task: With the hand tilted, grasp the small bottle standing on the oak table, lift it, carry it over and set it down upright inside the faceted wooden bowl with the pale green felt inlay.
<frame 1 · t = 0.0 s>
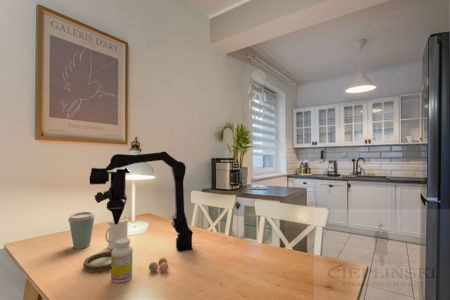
hand: (117, 221, 99), 15 cm above the table, tool pointing down, fingers open, 9 cm apart
bead honey: (162, 262, 90), point 2 cm above the table
disposable coffee cup: (81, 246, 110), on the table
bead maple: (153, 266, 86), point 2 cm above the table
mug: (115, 247, 109), on the table
supplement bottle: (121, 279, 81), on the table
pinkish tan ball: (163, 267, 86), point 2 cm above the table
faceted wooden bowl: (104, 264, 91), on the table
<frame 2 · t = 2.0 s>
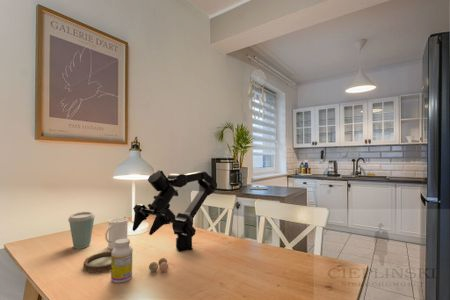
hand: (141, 232, 88), 13 cm above the table, tool tilted 45°, fingers open, 9 cm apart
nothing on the table moved.
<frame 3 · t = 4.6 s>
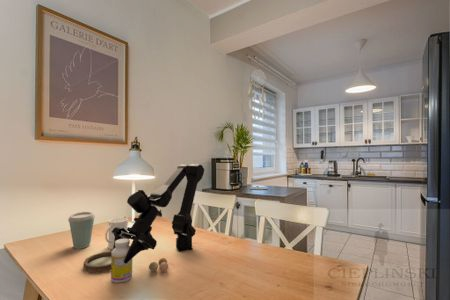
hand: (118, 260, 80), 7 cm above the table, tool tilted 45°, fingers closed on supplement bottle, 7 cm apart
supplement bottle: (121, 279, 81), on the table, touching gripper
everything else where it was.
when the fingers open (8 cm above the table, at t = 8.8 s): supplement bottle stays where it is, resting on faceted wooden bowl.
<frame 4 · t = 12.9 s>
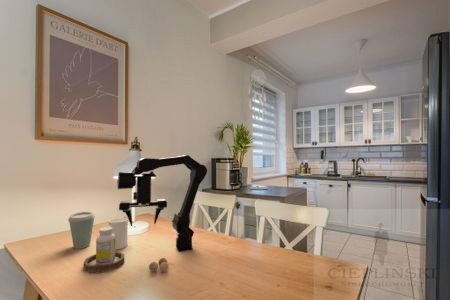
hand: (143, 225, 99), 13 cm above the table, tool pointing down, fingers open, 9 cm apart
supplement bottle: (105, 262, 91), point 1 cm above the table, touching faceted wooden bowl
everything else where it was.
at the end: supplement bottle inside the target area on the faceted wooden bowl (0.4 cm from its centre), point 0.6 cm above the faceted wooden bowl's base; supplement bottle tilted 0°; the gripper is holding nothing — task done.
